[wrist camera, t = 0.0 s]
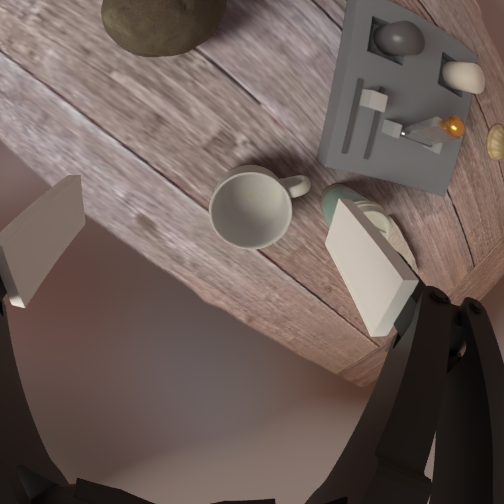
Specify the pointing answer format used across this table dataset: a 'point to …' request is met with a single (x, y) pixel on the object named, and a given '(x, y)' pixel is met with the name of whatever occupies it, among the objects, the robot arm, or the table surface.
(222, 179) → the teacup
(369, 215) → the coffee cup
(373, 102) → the slider knob
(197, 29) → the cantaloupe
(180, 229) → the table surface
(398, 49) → the dark gray button
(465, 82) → the cream button
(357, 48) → the panel
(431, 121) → the lever
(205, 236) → the table surface
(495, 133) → the hand bell
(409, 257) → the washcloth
